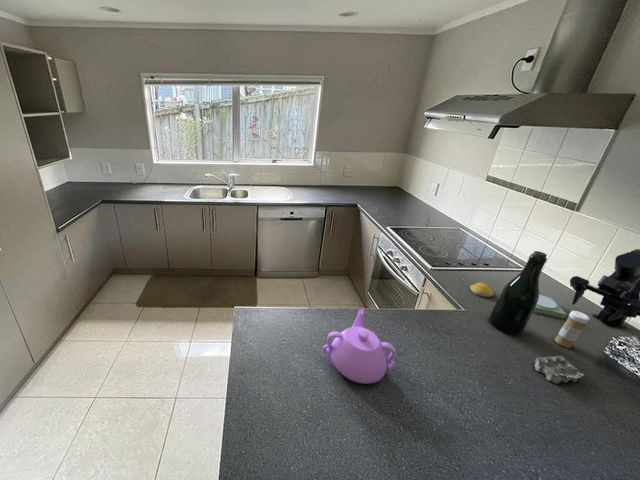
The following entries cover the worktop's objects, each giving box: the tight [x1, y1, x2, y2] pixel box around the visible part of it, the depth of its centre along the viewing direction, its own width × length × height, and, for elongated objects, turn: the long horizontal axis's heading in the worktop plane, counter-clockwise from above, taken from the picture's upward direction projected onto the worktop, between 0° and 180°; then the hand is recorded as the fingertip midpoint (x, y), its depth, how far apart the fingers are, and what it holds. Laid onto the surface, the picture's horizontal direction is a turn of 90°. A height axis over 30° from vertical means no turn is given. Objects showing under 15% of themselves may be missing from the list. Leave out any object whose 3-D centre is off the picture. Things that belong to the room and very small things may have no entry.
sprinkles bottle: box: [554, 310, 591, 349], centre depth 100 cm, size 5×5×13 cm
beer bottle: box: [488, 250, 548, 336], centre depth 104 cm, size 10×10×33 cm
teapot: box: [322, 306, 397, 384], centre depth 90 cm, size 22×22×14 cm
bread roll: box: [469, 282, 495, 298], centre depth 130 cm, size 8×9×4 cm
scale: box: [533, 294, 567, 319], centre depth 122 cm, size 14×12×4 cm
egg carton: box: [534, 355, 584, 385], centre depth 90 cm, size 11×8×4 cm
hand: (589, 312), depth 100 cm, fingers open, 9 cm apart
